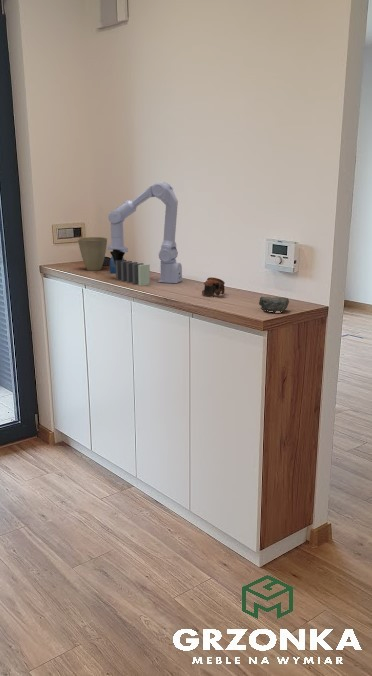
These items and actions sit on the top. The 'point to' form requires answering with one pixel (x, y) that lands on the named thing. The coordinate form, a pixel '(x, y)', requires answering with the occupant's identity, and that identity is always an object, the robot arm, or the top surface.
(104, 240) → the plant pot
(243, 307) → the top surface
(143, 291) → the top surface
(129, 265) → the domino
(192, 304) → the top surface
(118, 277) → the domino
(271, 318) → the top surface
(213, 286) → the brown irregular lump
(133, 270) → the domino
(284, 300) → the rock
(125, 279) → the domino
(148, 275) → the domino
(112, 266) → the perfume bottle
